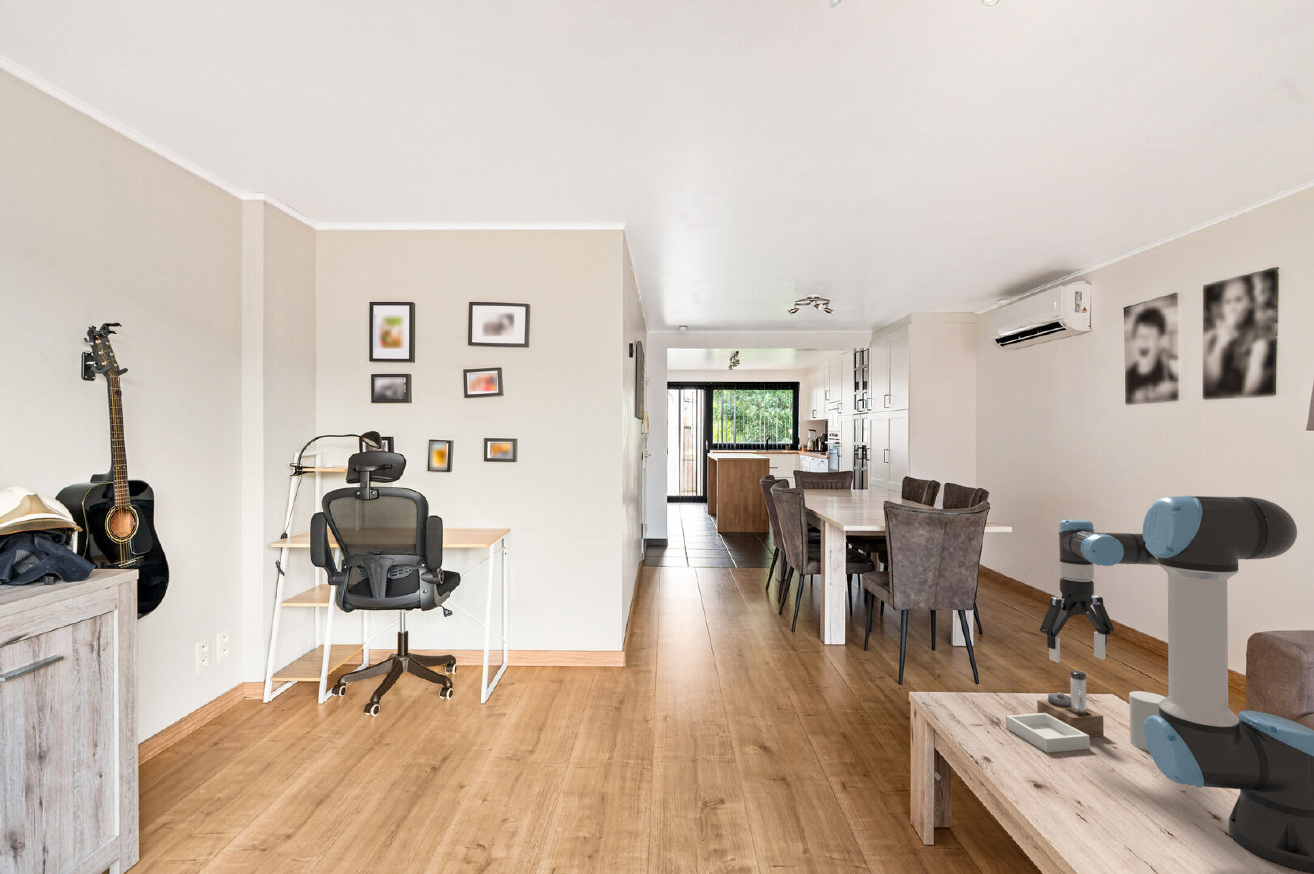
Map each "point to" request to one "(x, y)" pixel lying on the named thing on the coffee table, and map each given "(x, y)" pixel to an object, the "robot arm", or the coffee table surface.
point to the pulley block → (1071, 714)
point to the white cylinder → (1141, 715)
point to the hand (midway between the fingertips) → (1077, 659)
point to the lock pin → (1078, 693)
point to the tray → (1047, 732)
